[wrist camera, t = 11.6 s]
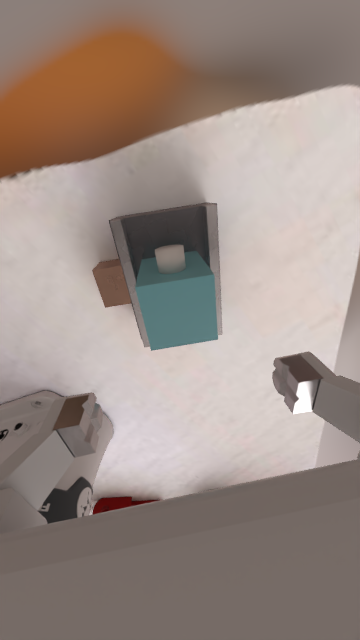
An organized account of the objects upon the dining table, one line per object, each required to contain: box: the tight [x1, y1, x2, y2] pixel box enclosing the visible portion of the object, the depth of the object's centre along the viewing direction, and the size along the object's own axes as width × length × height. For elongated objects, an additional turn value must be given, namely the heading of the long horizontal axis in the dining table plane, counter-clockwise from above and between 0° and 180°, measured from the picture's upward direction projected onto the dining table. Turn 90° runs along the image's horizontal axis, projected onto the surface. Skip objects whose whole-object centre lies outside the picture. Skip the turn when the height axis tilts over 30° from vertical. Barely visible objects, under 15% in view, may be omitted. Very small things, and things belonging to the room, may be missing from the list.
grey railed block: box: [92, 203, 222, 347], centre depth 22 cm, size 12×12×6 cm
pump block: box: [135, 245, 218, 351], centre depth 17 cm, size 5×6×7 cm
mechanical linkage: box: [93, 497, 160, 514], centre depth 49 cm, size 16×7×5 cm, turn 82°
